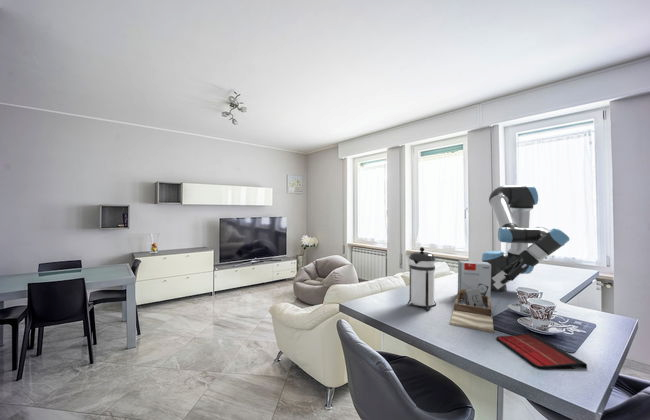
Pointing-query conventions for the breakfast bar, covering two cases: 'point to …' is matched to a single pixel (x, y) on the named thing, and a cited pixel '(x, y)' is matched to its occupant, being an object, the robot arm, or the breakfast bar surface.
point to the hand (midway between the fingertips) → (494, 283)
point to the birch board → (472, 321)
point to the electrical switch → (473, 297)
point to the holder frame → (473, 308)
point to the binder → (540, 352)
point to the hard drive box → (474, 276)
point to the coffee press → (422, 279)
